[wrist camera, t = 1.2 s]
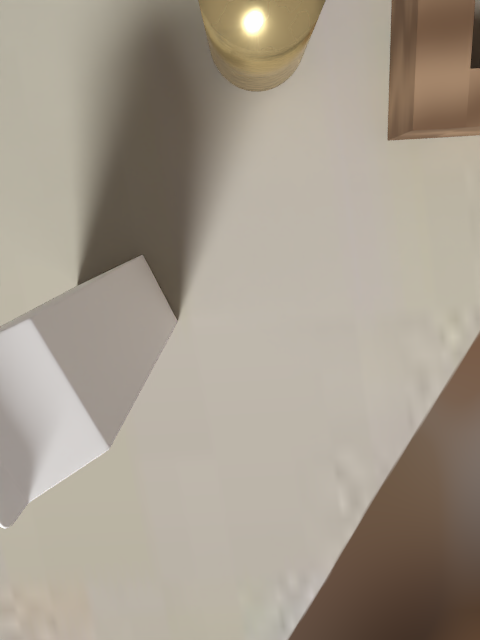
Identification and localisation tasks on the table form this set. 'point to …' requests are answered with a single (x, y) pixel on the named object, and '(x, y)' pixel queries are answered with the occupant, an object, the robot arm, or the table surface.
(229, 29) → the round bit
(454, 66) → the socket block
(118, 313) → the milk
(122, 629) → the table surface
